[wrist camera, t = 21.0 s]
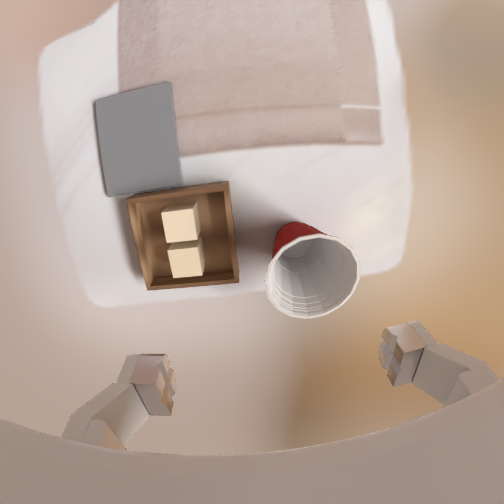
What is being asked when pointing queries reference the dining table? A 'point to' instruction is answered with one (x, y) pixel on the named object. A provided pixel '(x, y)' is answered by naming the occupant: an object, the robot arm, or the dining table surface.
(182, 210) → the cream wooden cube
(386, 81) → the dining table surface
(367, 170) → the dining table surface
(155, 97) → the slate board
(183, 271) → the beige block
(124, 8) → the dining table surface
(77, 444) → the robot arm
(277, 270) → the plastic cup
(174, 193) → the walnut bin
